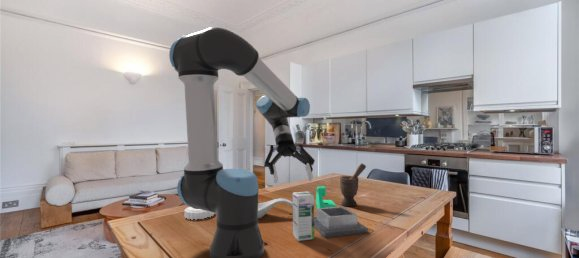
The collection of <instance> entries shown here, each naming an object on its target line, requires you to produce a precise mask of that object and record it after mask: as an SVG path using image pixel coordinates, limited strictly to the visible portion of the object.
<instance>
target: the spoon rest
mask: <svg viewBox="0 0 579 258" xmlns="http://www.w3.org/2000/svg"><path fill="white" fill-rule="evenodd" d="M283 203H284V204H287V205H289V206H290V207H291V208H292V209H293V201H291V200H289V199H287V198H285V197H284V198H282V197H279V198H274V199H271V200H268V201H264V202H258V219H262V218H263V217H264V216H265V215H266V214H267V213H268V212H269V211H270V210H271V209H273V207H275V206H277V205H278V204H283Z"/></svg>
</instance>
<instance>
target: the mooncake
mask: <svg viewBox="0 0 579 258" xmlns="http://www.w3.org/2000/svg"><path fill="white" fill-rule="evenodd" d="M183 212H184V213H183V214H184V215H183V216H184V218H185V219H186V218H187V219H186V220H190V219H191V221H198V220H197V219H202V220H205V219H204V218H207V217H210V218H212V217H214V216H215V214H216V213H215V212H210V211H206V210H201V209H195V208H192V207H190V206H187V207H186V208H184V211H183ZM211 216H212V217H211ZM193 219H195V220H193ZM207 219H208V218H207Z"/></svg>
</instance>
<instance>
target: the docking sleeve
mask: <svg viewBox="0 0 579 258" xmlns="http://www.w3.org/2000/svg"><path fill="white" fill-rule="evenodd" d="M358 216H359V215H358V214H356V213H355V212H353V211H351V210H350V209H348V208H346V206H343V205H341V206H337V207H329V208H317V207H316V216H314V230H316V231H317V232H318V233H319V234H320V235H321V236H322V237H323V238H325V239H327V238H333V237H334V238H335V237H336V238H337V237H342V236H350V235H351V236H352V235H359V234H366V233H368V232H369V228H368V227H367V226H365V225H364V224H362V223H360V222H359V221H358V220H359V219H358Z"/></svg>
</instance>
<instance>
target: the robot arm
mask: <svg viewBox="0 0 579 258" xmlns="http://www.w3.org/2000/svg"><path fill="white" fill-rule="evenodd" d="M168 55H169V62H170V64H171V67H173V68H174V71H176V72H177V73H178V80H180V82H181V83H183V84H184V98H185V99H184V100H185V115H186V116H185V118H186V132H187V133H186V137H187V153H188V162H187V164H185V166H184V167H183V174H182V175H181V176H180V179H179V180H178V182H177V187H176V189H177V194H178V197H179V200H180V201H181V202H182V203H183V204H184V205H186V206H187V207H192V208H195V209H201V210H206V211H210V212H215V214H216V228H215V232H214V234H213V237H212V238H213V239H212V242H211V245H210V246H209V258H262V256H263V255H264V253H265V243H264V240H263V237H262V234H261V230H260V228H259V218H258V203H259V188H260V187H259V184H258V176H257V175H256V174H255V173H254V172H252V171H250V170H247V169H241V168H240V169H239V168H237V169H236V168H224V164H223V162H221V161H220V160H219V159H218V142H217V141H218V140H217V122H216V104H215V102H216V101H215V83H216V82H217V81H218V80H219V71H220V70H228V71H231V72H232V73H234V74H235V75H236V76H239V77H244V78H245V79H246V80H247V81H248V82H249V83H250V84H252V85H253V86H254V87H255V88H256V89H258V90H259V91H260V92H261V93H262V94H264V95H262V96H261V97H259V98H258V100H257V102H256V104H255V106H256V109H257V110H258V112H259V113H260V114H261V115H262V116H263V118H265V120H266V121H267V122H268V124H269V125H270V126H271V127H272V131H273V137H274V141H275V145H276V146H274V145H273V144H271V145H270V146H269V152H268V154H267V156H266V159H265V160H264V164H263V167H264V168H268V170H269V173H270V175H273V177H272V178H273V181H274V182H273V183H274V184H277V183H278V179H279V178H278V172H277V168H276V167H277V166H276V164H277V163H278V161H279V160H280V159H281V158H282V157H284V158H286V157H289V158H290V157H292V158H294V159H297V160H298V161H299V162H300V163H302V164H303V165H305V166H304V167H305V171H306V174H307V177H308V181H309V182H312V180H313V178H314V175H313V166H314V164H315V158H313V156H312V155H310V154H309V152H307V151H306V149H305V148H304V146H303V144H299V145H297V146H296V145H295V141H294V138H293V134H292V131H291V128H290V124H289V120H288V118H305V117H307V116H308V115H309V114H310V110H311V105H310V101H309V99H308V98H306V97H298V96H297V95H296V94H295V93H294V92H293V91H292V90H291V89H290V88H289V87H288V86H287V85H286V84H285V83H284V82H283V81H282V80H281V78H279V77H278V76H277V75H276V74H275V73H274V71H272V70H271V69H270V68H269V66H267V64H266V63H265V62H264V61H263V60H262V59H261V58H260V54H259V51H258V50H257V49H256V48H255V47H254V46H253V45H252V44H250V42H249V41H247V40H246V39H244V38H243V37H242V36H240V35H239V34H237V33H235V32H233V31H232V30H229V29H228V28H223V27H217V26H215V27H208V28H206V29H203V30H200V31H197V32H193V33H189V34H185V35H182V36H180V37H179V38H177V39H176V40H175V41H174V42H173V43H172V44H171V46H170V49H169V54H168ZM275 151H276V152H277V153H276V155H275V156H274V157H273V153H275ZM272 157H273V158H272ZM271 158H272V160H271Z"/></svg>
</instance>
